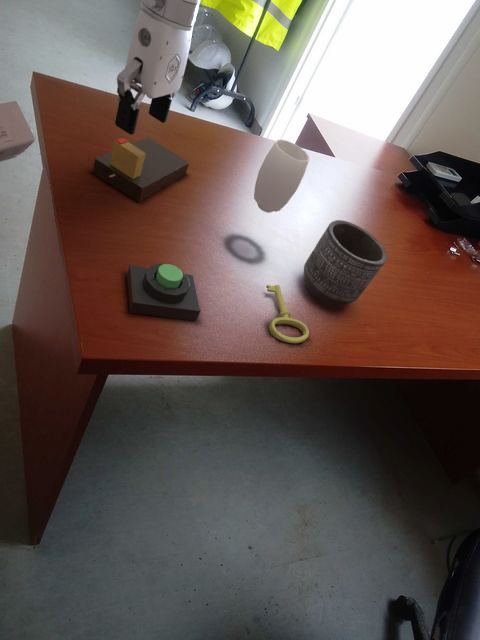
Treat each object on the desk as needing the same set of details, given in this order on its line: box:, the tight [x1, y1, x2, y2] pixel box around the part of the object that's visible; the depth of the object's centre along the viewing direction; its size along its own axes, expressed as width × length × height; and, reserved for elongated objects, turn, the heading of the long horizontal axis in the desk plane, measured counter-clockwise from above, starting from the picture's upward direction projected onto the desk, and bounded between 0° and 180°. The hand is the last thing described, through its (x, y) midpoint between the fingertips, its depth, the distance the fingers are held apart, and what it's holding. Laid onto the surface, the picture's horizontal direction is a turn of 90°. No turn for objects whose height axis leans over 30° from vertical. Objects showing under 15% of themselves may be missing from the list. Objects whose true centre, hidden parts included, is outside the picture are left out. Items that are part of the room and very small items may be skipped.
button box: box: [126, 263, 201, 322], centre depth 68 cm, size 10×8×4 cm
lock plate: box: [92, 136, 190, 203], centre depth 88 cm, size 21×10×3 cm, turn 160°
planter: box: [303, 219, 388, 309], centre depth 85 cm, size 12×12×13 cm
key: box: [265, 284, 310, 344], centre depth 78 cm, size 7×12×2 cm, turn 36°
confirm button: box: [156, 263, 183, 289], centre depth 67 cm, size 4×4×2 cm
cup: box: [253, 139, 310, 214], centre depth 81 cm, size 7×7×21 cm
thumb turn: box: [110, 137, 146, 179], centre depth 81 cm, size 5×2×5 cm, turn 68°
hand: (141, 123), depth 74 cm, fingers open, 9 cm apart
